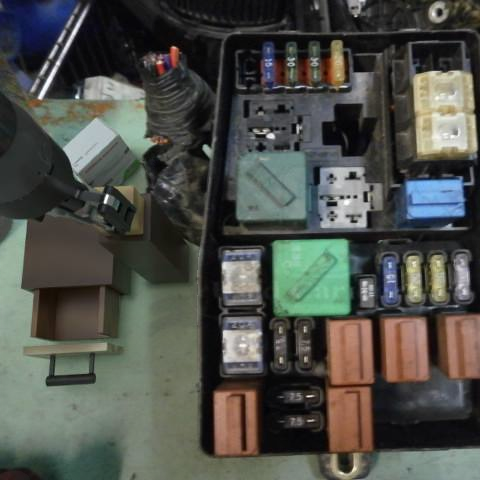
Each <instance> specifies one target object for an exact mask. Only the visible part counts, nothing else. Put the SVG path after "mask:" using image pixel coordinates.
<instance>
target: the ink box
mask: <svg viewBox="0 0 480 480" xmlns="http://www.w3.org/2000/svg"><path fill="white" fill-rule="evenodd" d="M62 149H63V150H64V151H65V153H66V154H67V156H68V158H69V160H70V163H71V166H72V170H73V174H75V176H77V178H79V179H80V180H81V182H82V183H83V184H86V185H88V186H90V187H92V188H94V187H105V186H113V187H116V186H121V185H122V184H123V183H124V182H125V181H126V180H127V179H128V177H129V176H131V175H132V174H133V173H134V172H135V171H136V169H138V168H139V167H140V166H141V163H140V161H139V160H138V159H137V157H136V155H134V153H133V151H132V150H131V149H130V147H129V146H128V144H127V143H126V142H125V141H124V139H123V138H122V136H121V135H120V133H119V132H117V130H115V129H114V128H113V127H111V126H110V125H109V124H107V123H106V122H105V121H104V120H102V119H101V118H100V117H98V116H96V117H95V118H94V119H92V121H90V123H89V124H87V125H86V126H85V127H84V128H83V129H82V130H81V131H80V132H79V133H78V134H76V135H75V136H74V137H73V138H72V140H70V141H69V142H68V143H67V144H66V145H65V146H63V147H62Z"/></svg>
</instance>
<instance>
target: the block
mask: <svg viewBox="0 0 480 480" xmlns="http://www.w3.org/2000/svg"><path fill="white" fill-rule="evenodd" d="M115 188H116V189H118V190H119V191H120V192H121V193H122V194H123V195H124V196H125V197H126V198H127V199H128V200H129V201H130V202H131V203H132V204H133V205H134V206H135V207H136V208H137V210H136V213H135V215H134V218H133V222H132V225H131V230H130V232H126V233H125V235H137V234H143V225H144V199H143V197H142V196H141V195H140V194H141V192H139V190H138V189H137V188H136V187H135V185H119V186H116V187H115ZM94 189H96V190H98V191H100V192H102V193H103V190H104V187H94ZM97 217H98V218H100V219H102V220H103V217H102V216H97ZM93 226H94V227H95V228H97V229H98V230H99V231H100V232H101V233H103V234H104V235H105V236H111V235H110V234H109V233H108V232H106V231H105V230H104V229H103V228H102V227H99V226H97V225H94V224H93Z"/></svg>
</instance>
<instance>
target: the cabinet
mask: <svg viewBox="0 0 480 480" xmlns="http://www.w3.org/2000/svg"><path fill="white" fill-rule="evenodd" d="M85 206H86V204H85ZM85 206H84V207H83V208H81V209H80V210H78V211H76V212H75V213H76V214H78V215H80V216H82V215H83V212H84V209H85ZM25 230H26V231H25V239H24V240H25V241H24V251H23V262H22V272H21V282H20V283H21V285H20V290H23V291H25V292H28V293H31V294H33V295H34V289H49V288H68V287H87V286H106V285H109V286H110V287H112V288H114V289H115V290H117V291H119V292H120V297H129V296H130V297H131V296H132V273H133V272H132V271H133V270H132V269H131V268H130V267H129V266H127V265H126V264H125V263H123V262H122V261H121V260H120V259H118V258H117V257H116V256H114V255H113V254H112V253H111V252H109V251H108V250H107V249H105V248H104V247H103V246H102V245H100V244H99V243H98V238H99V230H98V229H97V228H95V227H94V226H93V225H81V224H78V223H76V222H73V221H71V220H68V219H66V218H63V217H53V216H51V215H48V214H45V217H44V219H43V221H42V222H36V221H33V220H31V219H26V229H25Z"/></svg>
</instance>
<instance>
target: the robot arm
mask: <svg viewBox="0 0 480 480" xmlns="http://www.w3.org/2000/svg"><path fill="white" fill-rule="evenodd" d="M74 174H75V173H74V172H73V170H72V166H71V163H70V160H69V158H68V156H67V154H66V153H65V151H64V150H63V147H61V146H60V145H59V144H58V143H57V142H56V141H55V140H54V139H53V138H52V136H51V135H50V134H49V133H48V132H46V130H45V129H44V128H43V127H42V126H41V125H40V124H39V123H38V122H37V121H36V120H35V119H34V118H33V116H31V115H30V114H29V113H28V111H26V110H25V109H24V108H23V107H22V106H20V105H19V104H18V103H17V102H16V101H13V100H12V99H10V98H9V97H8V96H7V95H6V94H5V93H4V92H3V91H2V90H1V89H0V216H2V217H4V218H7V219H10V220H16V221H17V220H18V221H20V220H21V221H22V220H24V221H25V220H27V219H31V220H33V221H36V222H42V221H43V219H44V217H45V214H48V215H51V216H53V217H63V218H66V219H68V220H71V221H73V222H76V223H78V224H81V225H93V224H94V225H97V226H99V227H102V228H103V229H104V230H105V231H106V232H108V233H109V234H110V235H111V236H112V237H115V238H121V237H122V235H125V233H126V232H130V230H131V225H132V222H133V218H134V215H135V213H136V210H137V208H136V207H135V206H134V205H133V204H132V203H131V202H130V201H129V200H128V199H127V198H126V197H125V196H124V195H123V194H122V193H121V192H120V191H119V190H118V189H116V188H115V187H113V186H105V187H104V190H103V193H102V192H100V191H98V190H96V189H94V188H92V187H90V186H88V185H86V184H85V183H84V182H82V181H79V180H78V177H76V175H74ZM85 204H86V206H85ZM84 206H85V209H84V212H83V215H82V216H80V215H78V214H76V213H75V212H76V211H78V210H80V209H81V208H83V207H84ZM97 216H102V217H103V220H102V219H100V218H98V217H97Z"/></svg>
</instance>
